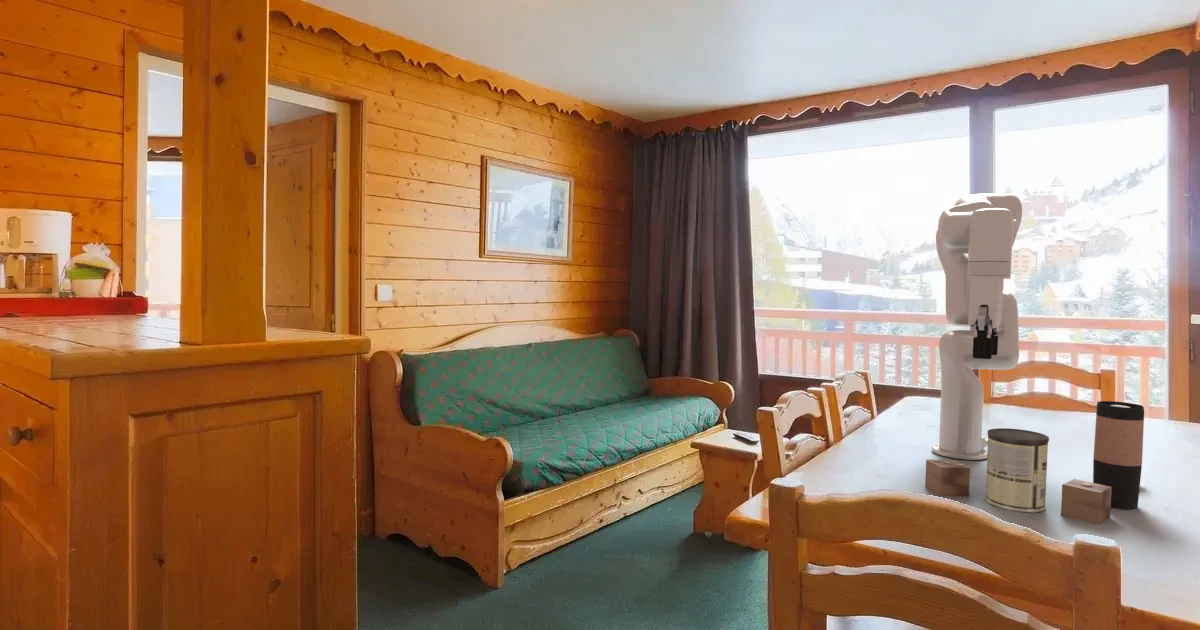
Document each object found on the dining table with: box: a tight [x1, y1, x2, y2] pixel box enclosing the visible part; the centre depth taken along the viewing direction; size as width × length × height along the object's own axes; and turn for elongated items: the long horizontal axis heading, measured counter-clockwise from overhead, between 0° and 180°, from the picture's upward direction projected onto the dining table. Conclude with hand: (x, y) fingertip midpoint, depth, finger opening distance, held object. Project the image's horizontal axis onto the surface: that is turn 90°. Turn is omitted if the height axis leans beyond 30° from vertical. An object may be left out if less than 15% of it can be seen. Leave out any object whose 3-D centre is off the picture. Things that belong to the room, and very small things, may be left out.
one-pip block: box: [1060, 478, 1112, 526], centre depth 127 cm, size 6×6×6 cm
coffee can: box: [984, 427, 1050, 513], centre depth 133 cm, size 10×10×14 cm
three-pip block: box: [924, 459, 971, 497], centre depth 141 cm, size 6×6×6 cm
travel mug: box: [1092, 400, 1145, 511], centre depth 134 cm, size 8×8×20 cm
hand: (985, 356), depth 135 cm, fingers open, 9 cm apart
